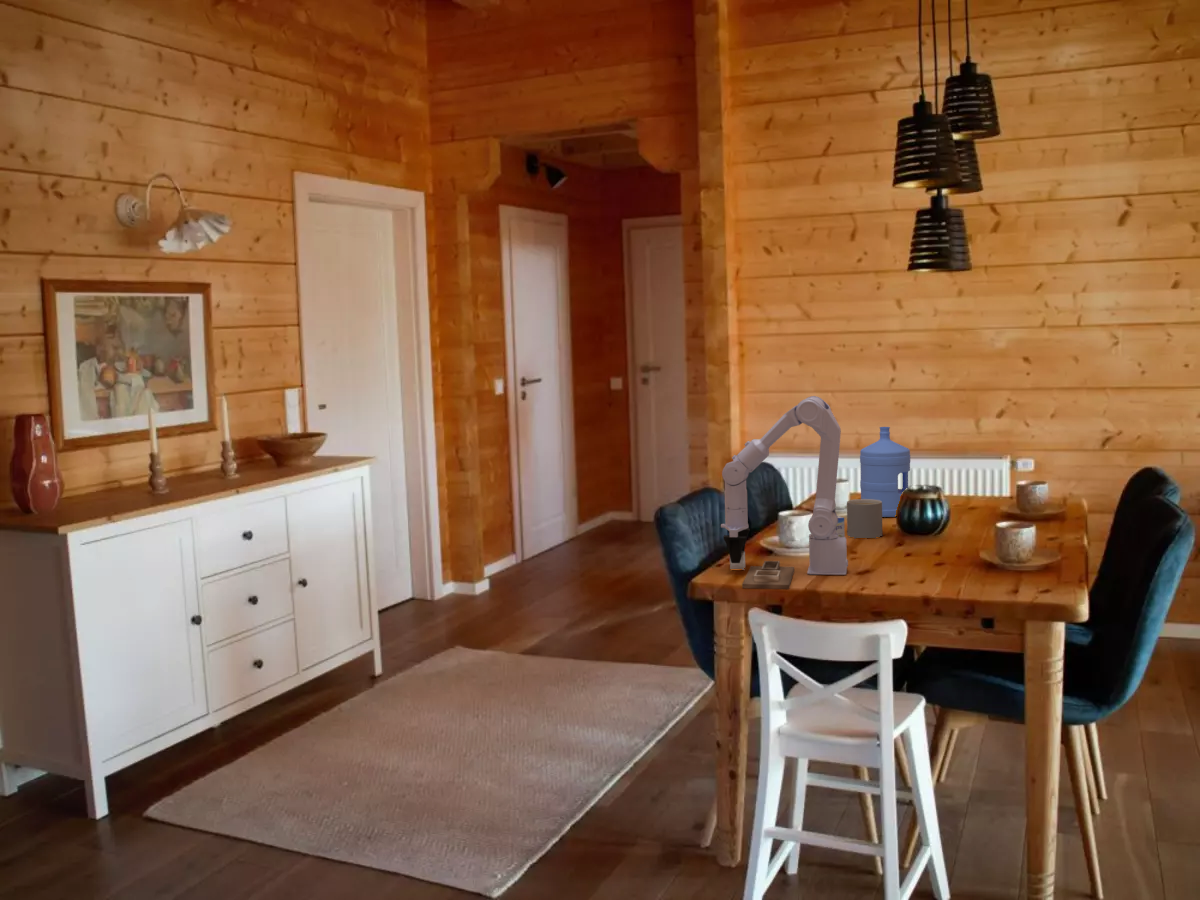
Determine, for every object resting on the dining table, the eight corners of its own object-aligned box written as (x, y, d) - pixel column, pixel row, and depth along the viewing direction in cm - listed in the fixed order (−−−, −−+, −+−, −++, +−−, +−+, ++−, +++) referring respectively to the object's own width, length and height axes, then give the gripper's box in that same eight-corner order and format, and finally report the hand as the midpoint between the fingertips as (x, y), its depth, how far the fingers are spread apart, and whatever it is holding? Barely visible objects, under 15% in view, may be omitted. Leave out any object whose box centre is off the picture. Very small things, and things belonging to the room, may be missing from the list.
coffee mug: (879, 539, 325) (878, 505, 324) (844, 538, 329) (843, 504, 328) (887, 531, 337) (886, 497, 336) (853, 529, 341) (852, 496, 340)
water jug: (865, 519, 358) (864, 430, 355) (856, 510, 373) (855, 425, 370) (916, 517, 357) (915, 428, 354) (904, 509, 373) (903, 424, 370)
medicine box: (819, 550, 313) (818, 519, 312) (811, 548, 317) (811, 517, 316) (845, 548, 315) (844, 517, 314) (837, 545, 319) (837, 514, 318)
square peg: (745, 567, 295) (744, 550, 295) (743, 570, 292) (743, 553, 291) (731, 567, 296) (731, 550, 296) (730, 570, 293) (729, 553, 292)
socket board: (794, 570, 290) (794, 560, 289) (788, 589, 270) (788, 578, 270) (750, 569, 292) (750, 560, 292) (742, 588, 273) (742, 577, 273)
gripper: (724, 503, 300) (725, 553, 302) (716, 512, 286) (718, 565, 288) (751, 503, 298) (752, 554, 300) (745, 512, 284) (746, 565, 286)
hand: (737, 559), depth 294 cm, fingers open, 7 cm apart
